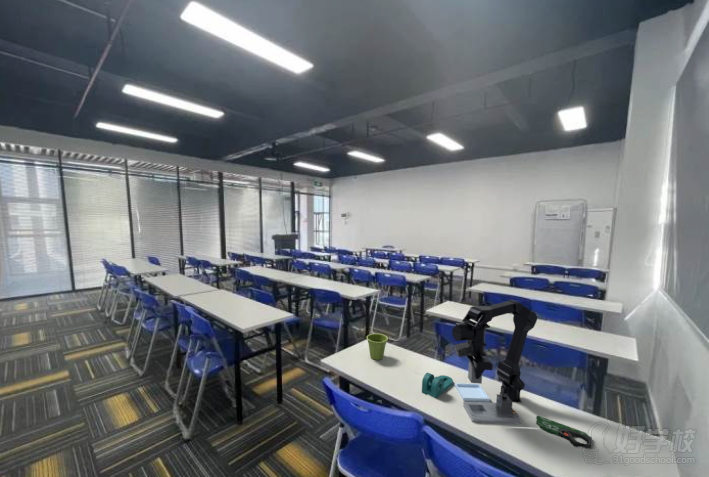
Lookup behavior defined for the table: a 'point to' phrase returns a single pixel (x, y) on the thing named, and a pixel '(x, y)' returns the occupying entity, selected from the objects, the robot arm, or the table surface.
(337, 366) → the table surface
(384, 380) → the table surface
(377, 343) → the plant pot
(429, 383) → the bracket
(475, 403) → the grey socket base
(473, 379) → the plug
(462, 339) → the robot arm
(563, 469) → the table surface
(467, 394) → the tray
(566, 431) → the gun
